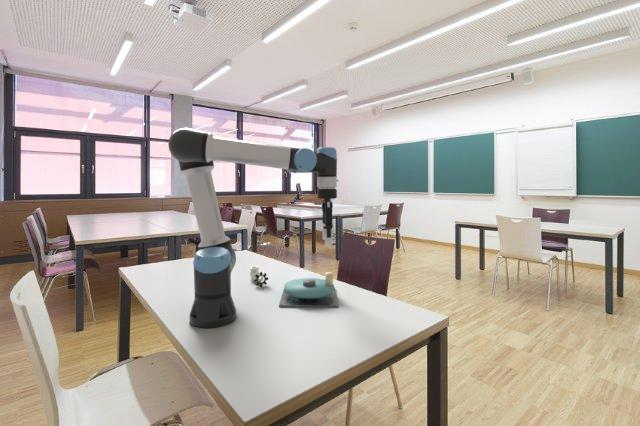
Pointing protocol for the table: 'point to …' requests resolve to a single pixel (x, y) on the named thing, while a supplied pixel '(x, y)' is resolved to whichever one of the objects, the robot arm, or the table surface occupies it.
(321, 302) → the wheel stand
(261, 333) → the table surface
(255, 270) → the valve
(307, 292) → the handwheel
